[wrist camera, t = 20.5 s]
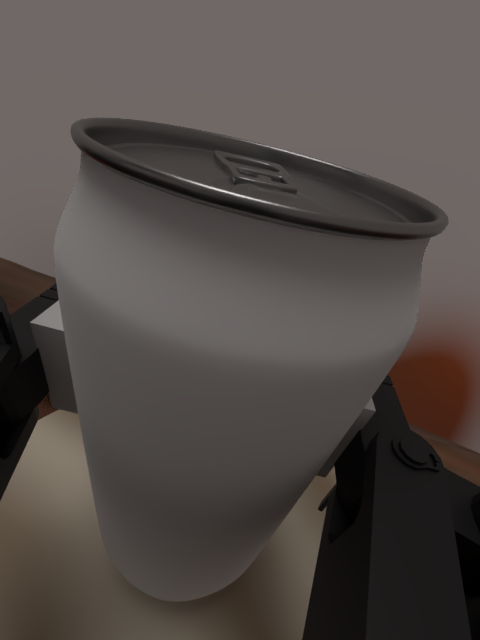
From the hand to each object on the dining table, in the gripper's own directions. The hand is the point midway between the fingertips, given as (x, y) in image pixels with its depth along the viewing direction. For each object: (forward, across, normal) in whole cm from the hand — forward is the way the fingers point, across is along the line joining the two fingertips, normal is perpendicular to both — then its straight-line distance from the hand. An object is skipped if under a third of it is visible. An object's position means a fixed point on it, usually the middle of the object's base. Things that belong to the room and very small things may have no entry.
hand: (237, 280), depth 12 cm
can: (-5, 0, -7) cm, 9 cm away
